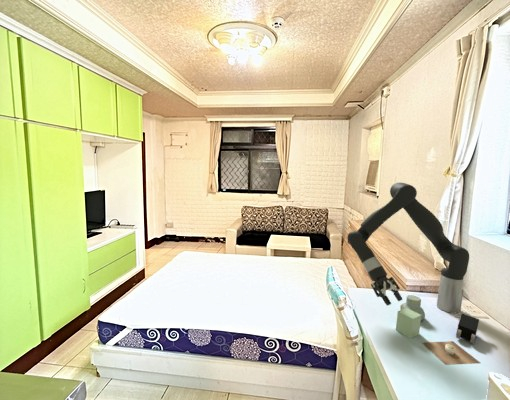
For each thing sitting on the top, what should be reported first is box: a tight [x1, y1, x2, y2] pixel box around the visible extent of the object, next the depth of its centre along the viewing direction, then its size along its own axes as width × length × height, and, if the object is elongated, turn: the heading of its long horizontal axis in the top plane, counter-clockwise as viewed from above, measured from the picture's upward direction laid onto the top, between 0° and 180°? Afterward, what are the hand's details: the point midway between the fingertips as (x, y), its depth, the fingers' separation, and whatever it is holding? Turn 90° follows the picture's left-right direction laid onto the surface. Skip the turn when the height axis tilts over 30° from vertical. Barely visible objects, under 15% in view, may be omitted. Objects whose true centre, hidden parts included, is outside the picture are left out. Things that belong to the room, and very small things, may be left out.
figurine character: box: [455, 313, 480, 345], centre depth 112 cm, size 7×8×15 cm
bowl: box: [445, 344, 455, 355], centre depth 101 cm, size 3×3×2 cm
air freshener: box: [399, 294, 426, 321], centre depth 126 cm, size 11×8×10 cm
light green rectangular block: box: [395, 308, 422, 339], centre depth 113 cm, size 6×6×9 cm
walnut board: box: [421, 340, 481, 366], centre depth 102 cm, size 14×12×1 cm
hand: (395, 302), depth 118 cm, fingers open, 8 cm apart
